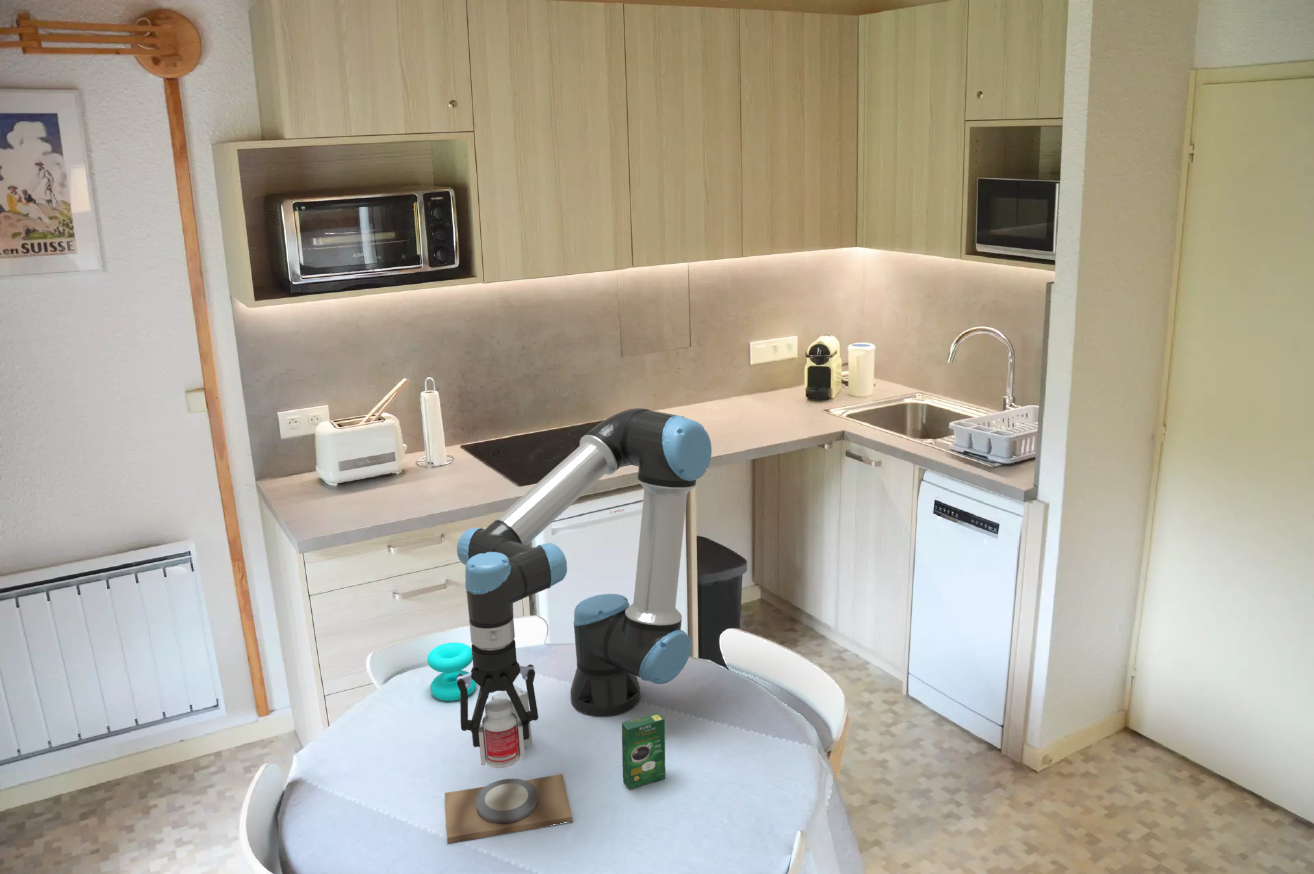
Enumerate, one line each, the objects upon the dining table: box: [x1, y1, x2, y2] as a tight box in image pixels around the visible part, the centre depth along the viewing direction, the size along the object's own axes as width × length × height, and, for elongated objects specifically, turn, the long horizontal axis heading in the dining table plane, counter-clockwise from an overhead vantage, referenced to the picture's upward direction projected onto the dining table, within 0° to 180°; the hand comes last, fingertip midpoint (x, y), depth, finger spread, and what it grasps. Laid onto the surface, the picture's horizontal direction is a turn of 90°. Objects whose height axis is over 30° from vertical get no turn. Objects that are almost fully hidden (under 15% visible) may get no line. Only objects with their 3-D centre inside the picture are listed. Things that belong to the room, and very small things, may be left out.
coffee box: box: [621, 712, 666, 790], centre depth 194 cm, size 8×3×13 cm, turn 116°
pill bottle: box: [481, 699, 520, 769], centre depth 183 cm, size 6×6×11 cm
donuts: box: [426, 642, 477, 702], centre depth 227 cm, size 10×10×10 cm
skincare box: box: [491, 684, 533, 749], centre depth 206 cm, size 6×4×12 cm
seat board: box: [444, 773, 574, 844], centre depth 188 cm, size 22×13×3 cm, turn 103°
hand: (502, 757), depth 185 cm, fingers closed on pill bottle, 6 cm apart
